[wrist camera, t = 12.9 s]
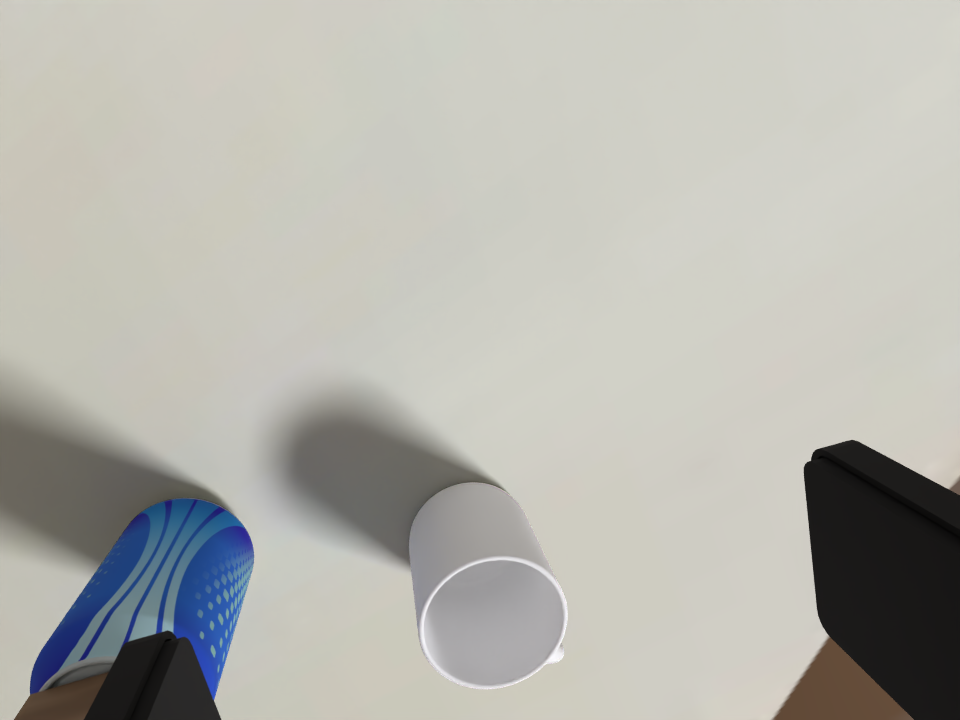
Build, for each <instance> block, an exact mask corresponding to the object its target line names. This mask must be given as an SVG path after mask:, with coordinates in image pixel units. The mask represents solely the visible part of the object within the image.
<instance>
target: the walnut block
mask: <svg viewBox="0 0 960 720" xmlns="http://www.w3.org/2000/svg"><path fill="white" fill-rule="evenodd" d="M108 673H109V672H107V673H103V674H100V675H96V676H93V677H89V678H86V679H82V680H79V681H75V682H72V683H68V684H65V685H61V686H58V687H54V688H51V689H47V690H44V691H40V692H37V693H33V694H31V695H30V696H29V698H28V699H27V701H26V702H25V704H24V705H23V707H22V708H21V710H20V711H19V713H18V714H17V716H16V717H15V719H14V720H84V718H85V716H86V714H87V712H88V711H89V709H90V707H91V705H92V703H93V701H94V699H95V697H96V695H97V693H98V692H99V690H100V688H101V686H102V684H103V682H104V680H105V678H106V676H107V675H108Z"/></svg>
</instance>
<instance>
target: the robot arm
mask: <svg viewBox="0 0 960 720" xmlns="http://www.w3.org/2000/svg"><path fill="white" fill-rule="evenodd" d="M804 481H805V491H806V501H807V511H808V521H809V531H810V542H811V552H812V562H813V572H814V582H815V593H816V603H817V611H818V616H819V619H820V622H821V624H822V626H823V628H824V629H825V631H826V632H827V634H828V635H829V636H830V637H831V638H832V639H833V640H834V641H835V642H836V643H837V644H838V645H839V646H840V647H841V648H842V649H843V650H844V651H845V652H846V653H847V654H848V655H849V656H850V657H851V658H852V659H853V660H854V661H855V662H856V663H857V664H858V665H859V666H860V667H861V668H862V669H863V670H864V671H865V672H866V673H867V674H868V675H869V676H870V677H871V678H872V679H873V680H874V681H875V682H876V683H877V684H879V686H880V687H881V688H882V689H883V690H885V691H886V692H887V693H888V694H889V695H890V696H891V697H892V698H893V699H894V700H895V701H896V702H897V703H898V704H899V705H900V706H901V707H902V708H903V709H904V710H905V711H906V712H907V713H908V714H909V715H910V716H911V717H912V718H913V719H914V720H960V495H958V494H956V493H954V492H952V491H950V490H949V489H947V488H945V487H943V486H941V485H939V484H937V483H935V482H933V481H932V480H930V479H928V478H926V477H924V476H922V475H920V474H918V473H916V472H915V471H913V470H911V469H909V468H907V467H905V466H903V465H901V464H899V463H898V462H896V461H894V460H892V459H890V458H888V457H886V456H884V455H883V454H881V453H879V452H877V451H875V450H873V449H871V448H869V447H867V446H866V445H864V444H862V443H860V442H858V441H855V440H850V441H845V442H842V443H838V444H835V445H831V446H827V447H824V448H820V449H817V450H815V451H814V452H813V454H812V458H811V461H809V462H807V463H806V464H805V466H804ZM84 720H221V718H220V715H219V713H218V710H217V708H216V705H215V703H214V700H213V697H212V695H211V692H210V690H209V687H208V685H207V682H206V680H205V677H204V674H203V672H202V669H201V667H200V664H199V662H198V659H197V656H196V654H195V651H194V649H193V646H192V644H191V642H190V640H189V639H188V638H186V637H181V638H178V639H177V637H176V636H175V635H174V634H173V632H171V631H168V630H167V631H164V632H160V633H157V634H153V635H149V636H146V637H142V638H139V639H135V640H132V641H129V642H126V643H125V644H124V645H123V647H122V648H121V650H120V652H119V654H118V656H117V657H116V659H115V661H114V663H113V665H112V667H111V669H110V671H109V673H108V675H107V676H106V678H105V680H104V682H103V684H102V686H101V688H100V690H99V692H98V693H97V695H96V697H95V699H94V701H93V703H92V705H91V707H90V709H89V711H88V712H87V714H86V716H85V718H84Z"/></svg>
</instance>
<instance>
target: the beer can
mask: <svg viewBox="0 0 960 720" xmlns="http://www.w3.org/2000/svg"><path fill="white" fill-rule="evenodd" d="M253 564H254V550H253V545H252V541H251V538H250V536H249V534H248V532H247V530H246V528H245V527H244V526H243V524H242V523H241V522H240V521H239V520H238V519H237V518H236V517H235V516H234V515H233V514H232V513H230V512H229V511H228V510H226V509H224V508H223V507H221V506H219V505H217V504H214V503H212V502H209V501H205V500H201V499H194V498H177V499H171V500H166V501H163V502H160V503H157V504H155V505H153V506H151V507H149V508H147V509H145V510H144V511H143V512H141V513H140V514H139V515H137V516H136V517H135V518H134V519H133V520H132V521H131V523H130V524H129V525H128V526H127V528H126V529H125V531H124V532H123V534H122V535H121V536H120V538H119V539H118V541H117V542H116V544H115V545H114V546H113V548H112V549H111V551H110V552H109V554H108V555H107V557H106V558H105V559H104V561H103V562H102V564H101V565H100V567H99V568H98V569H97V571H96V572H95V574H94V575H93V577H92V578H91V580H90V581H89V582H88V584H87V585H86V587H85V588H84V590H83V591H82V592H81V594H80V595H79V597H78V598H77V600H76V601H75V603H74V604H73V605H72V607H71V608H70V610H69V611H68V613H67V614H66V615H65V617H64V618H63V620H62V621H61V623H60V624H59V626H58V627H57V628H56V630H55V631H54V633H53V634H52V636H51V637H50V638H49V640H48V641H47V643H46V644H45V646H44V647H43V649H42V650H41V652H40V654H39V656H38V658H37V660H36V662H35V664H34V667H33V670H32V675H31V681H30V695H31V694H33V693H37V692H40V691H44V690H47V689H51V688H54V687H58V686H61V685H65V684H68V683H72V682H75V681H79V680H82V679H86V678H89V677H93V676H96V675H100V674H103V673H107V672H109V671H110V669H111V667H112V665H113V663H114V661H115V659H116V657H117V656H118V654H119V652H120V650H121V648H122V647H123V645H124V644H125V643H126V642H129V641H132V640H135V639H139V638H142V637H146V636H149V635H153V634H157V633H160V632H164V631H167V630H168V631H171V632H173V634H174V635H175V636H176V637H177V639H178V638H181V637H186V638H188V639H189V640H190V642H191V644H192V646H193V649H194V651H195V654H196V656H197V659H198V662H199V664H200V667H201V669H202V672H203V674H204V677H205V680H206V682H207V685H208V687H209V690H210V692H211V695H212V697H213V700H214V698H215V695H216V691H217V688H218V685H219V681H220V678H221V674H222V671H223V668H224V664H225V661H226V658H227V654H228V651H229V647H230V644H231V641H232V637H233V634H234V631H235V627H236V624H237V620H238V617H239V614H240V610H241V607H242V604H243V600H244V597H245V593H246V590H247V587H248V583H249V580H250V577H251V573H252V569H253Z"/></svg>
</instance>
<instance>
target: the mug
mask: <svg viewBox="0 0 960 720" xmlns="http://www.w3.org/2000/svg"><path fill="white" fill-rule="evenodd" d="M409 555H410V564H411V573H412V582H413V591H414V600H415V608H416V617H417V626H418V635H419V641H420V645H421V648H422V651H423V653H424V655H425V657H426V658H427V660H428V662H429V663H430V664H431V665H432V667H433V668H434V669H435V670H436V671H437V672H438V673H439V674H441V675H442V676H443V677H445V678H446V679H448V680H450V681H452V682H454V683H456V684H459V685H461V686H464V687H469V688H474V689H495V688H502V687H506V686H510V685H513V684H515V683H518V682H520V681H522V680H524V679H526V678H528V677H530V676H531V675H533V674H535V673H536V672H537V671H539V670H540V669H541V668H542V667H543V666H544V665H545V664H546V663H547V664H551V663H556V662H558V661H560V660H561V659H562V658H563V655H564V647H563V645H562V639H563V637H564V634H565V630H566V626H567V619H568V614H567V603H566V599H565V596H564V593H563V591H562V589H561V587H560V585H559V583H558V580H557V578H556V576H555V574H554V572H553V570H552V568H551V566H550V564H549V562H548V560H547V557H546V555H545V553H544V551H543V549H542V547H541V545H540V543H539V541H538V539H537V536H536V534H535V532H534V530H533V528H532V526H531V524H530V522H529V520H528V518H527V516H526V514H525V512H524V510H523V509H522V508H521V506H520V505H519V503H518V502H517V501H516V500H515V499H514V498H513V497H512V496H511V495H509V494H508V493H507V492H505V491H504V490H502V489H500V488H498V487H496V486H493V485H490V484H486V483H479V482H469V483H461V484H456V485H453V486H450V487H448V488H446V489H444V490H442V491H440V492H438V493H437V494H435V495H434V496H433V497H431V498H430V499H429V500H428V501H427V502H426V503H425V504H424V505H423V506H422V508H421V509H420V510H419V512H418V514H417V515H416V517H415V519H414V522H413V524H412V527H411V532H410V537H409Z"/></svg>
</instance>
